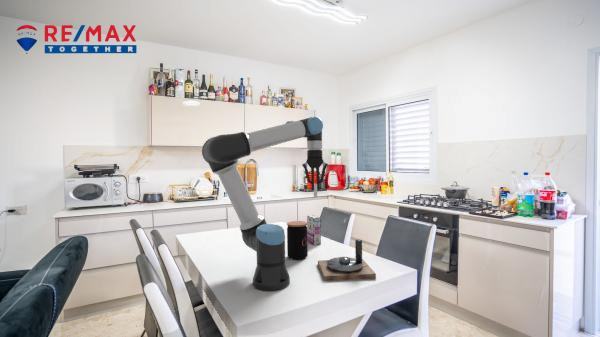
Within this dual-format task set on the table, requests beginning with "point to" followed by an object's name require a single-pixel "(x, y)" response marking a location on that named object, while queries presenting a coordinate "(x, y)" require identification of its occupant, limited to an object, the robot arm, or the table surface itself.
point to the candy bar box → (314, 229)
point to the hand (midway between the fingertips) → (315, 196)
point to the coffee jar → (297, 240)
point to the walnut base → (334, 275)
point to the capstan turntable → (348, 261)
